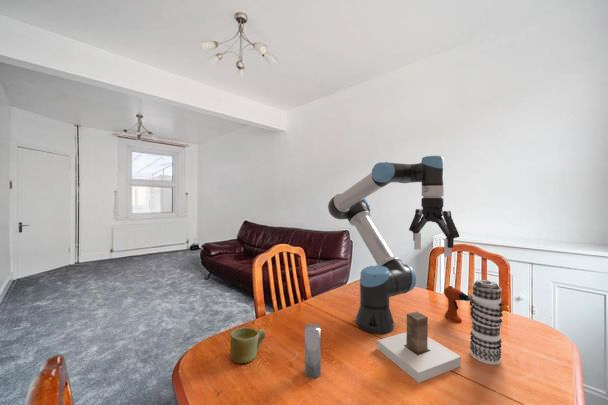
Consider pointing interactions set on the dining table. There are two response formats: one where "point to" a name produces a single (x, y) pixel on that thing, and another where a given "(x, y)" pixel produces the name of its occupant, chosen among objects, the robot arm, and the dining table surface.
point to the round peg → (312, 350)
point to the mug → (245, 344)
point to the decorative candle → (486, 322)
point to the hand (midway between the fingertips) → (431, 252)
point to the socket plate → (419, 357)
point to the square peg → (417, 332)
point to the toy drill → (454, 303)
